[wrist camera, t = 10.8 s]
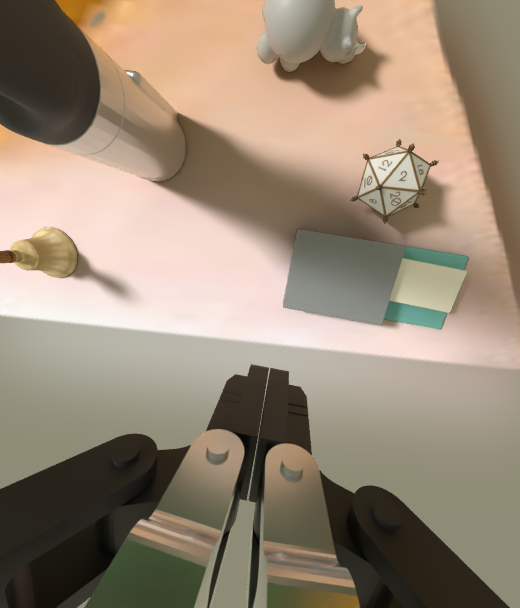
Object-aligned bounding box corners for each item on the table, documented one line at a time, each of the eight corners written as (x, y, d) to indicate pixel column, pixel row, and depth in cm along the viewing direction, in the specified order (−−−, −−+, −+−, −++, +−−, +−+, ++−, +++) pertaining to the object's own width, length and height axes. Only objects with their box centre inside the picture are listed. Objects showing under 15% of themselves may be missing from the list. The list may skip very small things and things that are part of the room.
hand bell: (24, 232, 43) (-123, 234, 28) (66, 222, 42) (-63, 218, 26) (44, 281, 45) (-82, 307, 30) (85, 272, 44) (-25, 295, 28)
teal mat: (397, 245, 37) (399, 245, 36) (466, 256, 36) (468, 256, 36) (376, 316, 40) (376, 317, 40) (438, 328, 39) (440, 329, 39)
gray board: (297, 228, 38) (297, 228, 34) (394, 244, 37) (406, 246, 33) (283, 300, 41) (282, 307, 37) (372, 316, 40) (381, 325, 36)
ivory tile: (393, 256, 37) (399, 257, 35) (458, 269, 36) (467, 271, 35) (380, 296, 39) (385, 299, 37) (441, 308, 38) (449, 312, 36)
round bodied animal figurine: (331, 102, 35) (371, 75, 28) (248, 64, 31) (268, 21, 24) (349, 36, 33) (398, -12, 25) (262, -13, 29) (289, -87, 22)
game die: (386, 194, 39) (447, 217, 31) (337, 215, 37) (389, 244, 30) (394, 123, 32) (472, 132, 25) (336, 147, 31) (401, 162, 24)
